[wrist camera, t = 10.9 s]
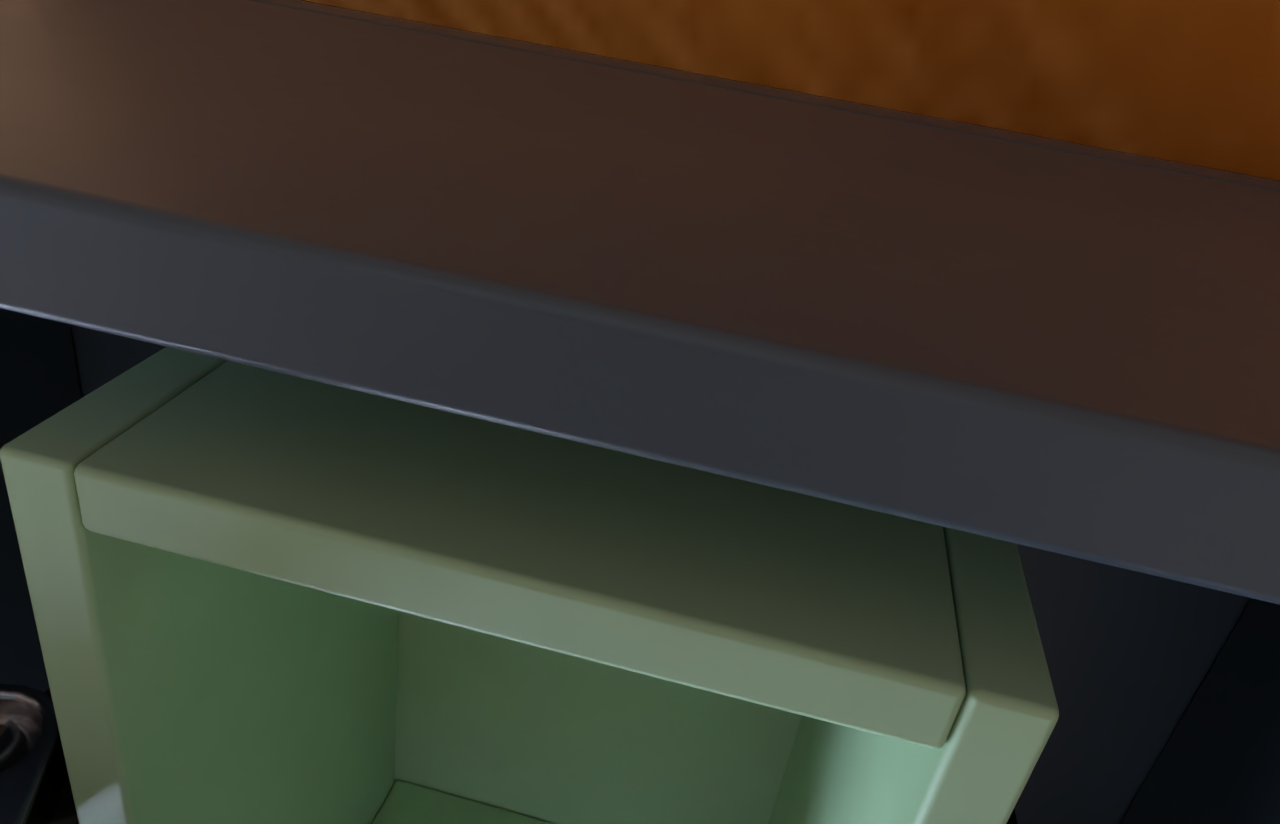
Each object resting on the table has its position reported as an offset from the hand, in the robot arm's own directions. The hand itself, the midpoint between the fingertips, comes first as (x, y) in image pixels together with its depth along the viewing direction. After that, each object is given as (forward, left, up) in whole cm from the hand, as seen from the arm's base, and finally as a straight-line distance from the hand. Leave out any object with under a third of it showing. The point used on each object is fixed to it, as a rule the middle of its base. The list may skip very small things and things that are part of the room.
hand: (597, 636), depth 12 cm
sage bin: (0, 0, -1) cm, 1 cm away
